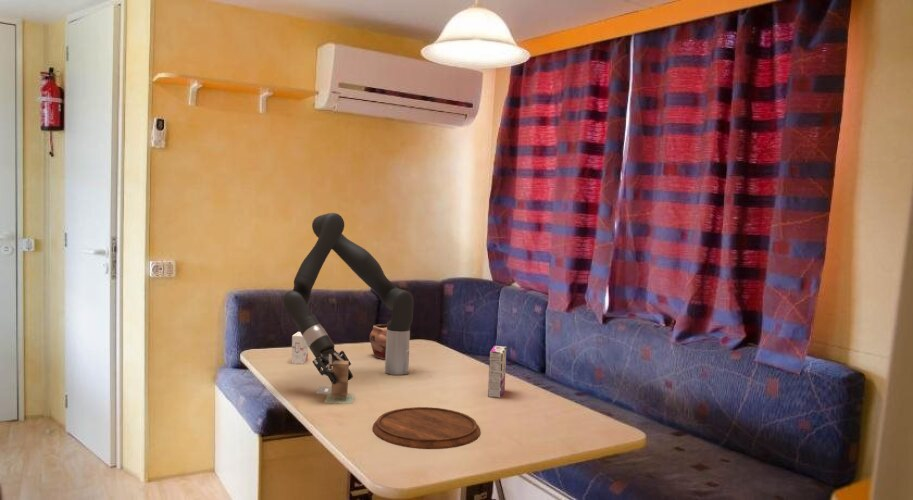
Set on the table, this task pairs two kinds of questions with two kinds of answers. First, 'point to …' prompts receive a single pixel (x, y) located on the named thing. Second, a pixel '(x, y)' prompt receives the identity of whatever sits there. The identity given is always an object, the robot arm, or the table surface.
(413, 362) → the table surface
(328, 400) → the sage mat
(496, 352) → the candy bar box
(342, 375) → the walnut block
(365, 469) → the table surface
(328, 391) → the tile
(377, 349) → the decorative planter
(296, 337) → the ink cartridge box
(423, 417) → the cutting board
